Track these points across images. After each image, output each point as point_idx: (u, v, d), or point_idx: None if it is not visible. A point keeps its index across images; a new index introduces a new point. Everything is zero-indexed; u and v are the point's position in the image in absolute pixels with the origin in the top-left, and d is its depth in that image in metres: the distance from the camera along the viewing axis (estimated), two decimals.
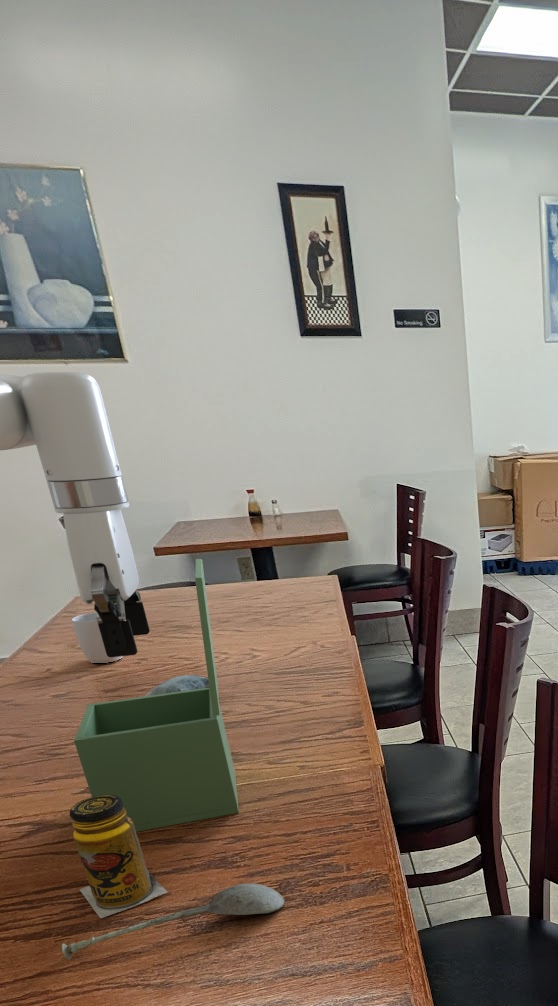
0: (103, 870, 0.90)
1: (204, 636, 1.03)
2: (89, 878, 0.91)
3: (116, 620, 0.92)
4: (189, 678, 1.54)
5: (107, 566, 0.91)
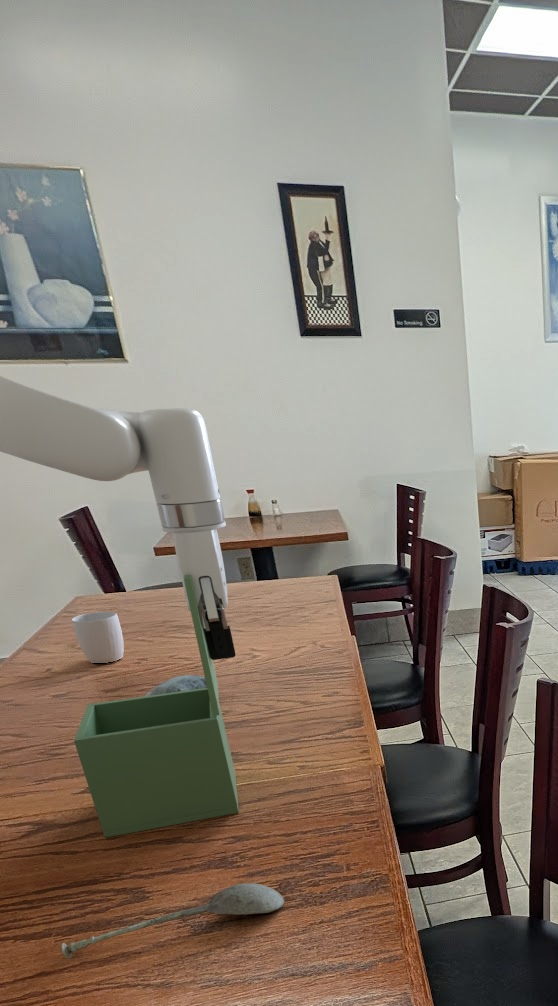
0: None
1: (198, 637, 1.02)
2: None
3: (221, 628, 1.08)
4: (189, 678, 1.54)
5: (212, 578, 1.03)
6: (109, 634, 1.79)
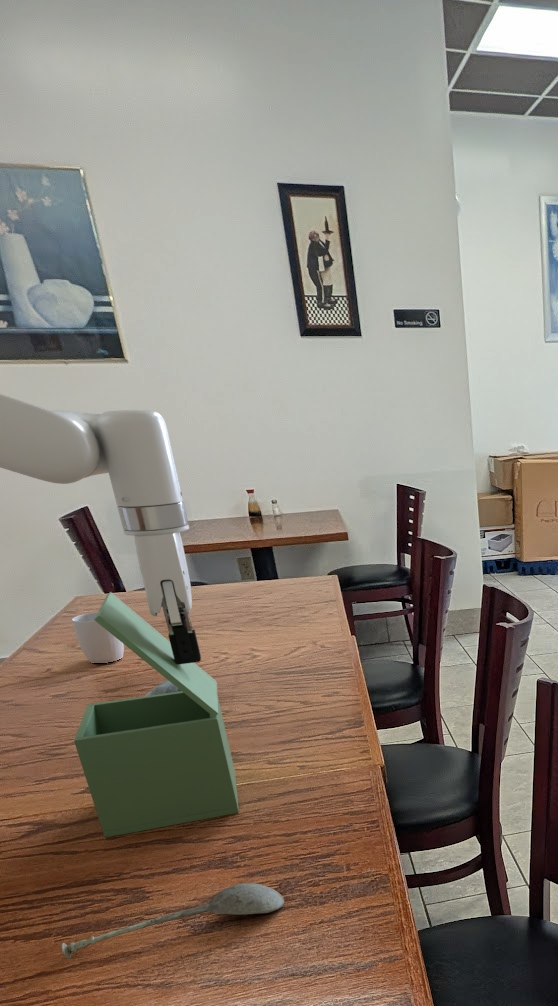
0: None
1: (147, 660, 1.01)
2: None
3: (185, 632, 1.07)
4: None
5: (174, 582, 1.01)
6: (109, 634, 1.79)
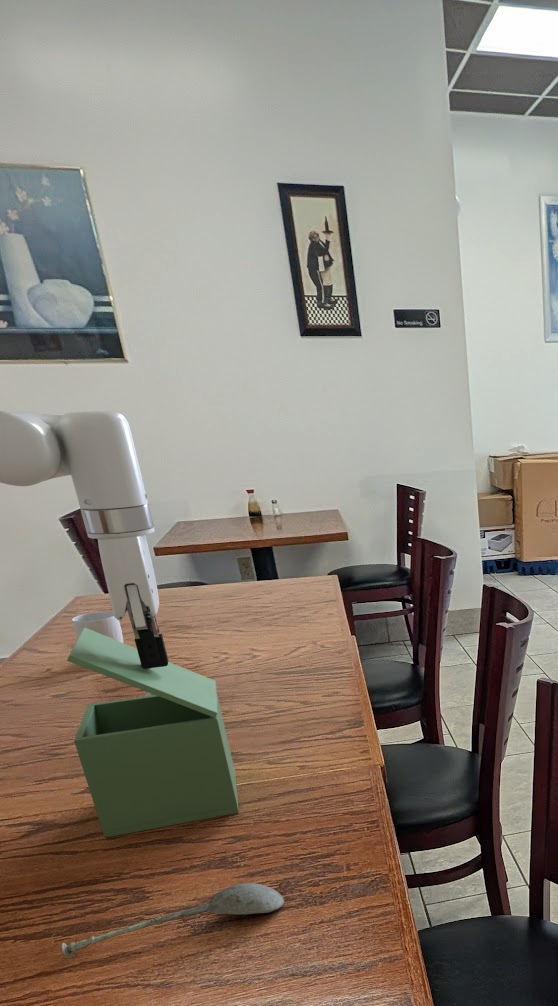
0: None
1: (131, 684, 1.02)
2: None
3: (151, 636, 1.06)
4: None
5: (139, 586, 1.00)
6: (109, 634, 1.79)
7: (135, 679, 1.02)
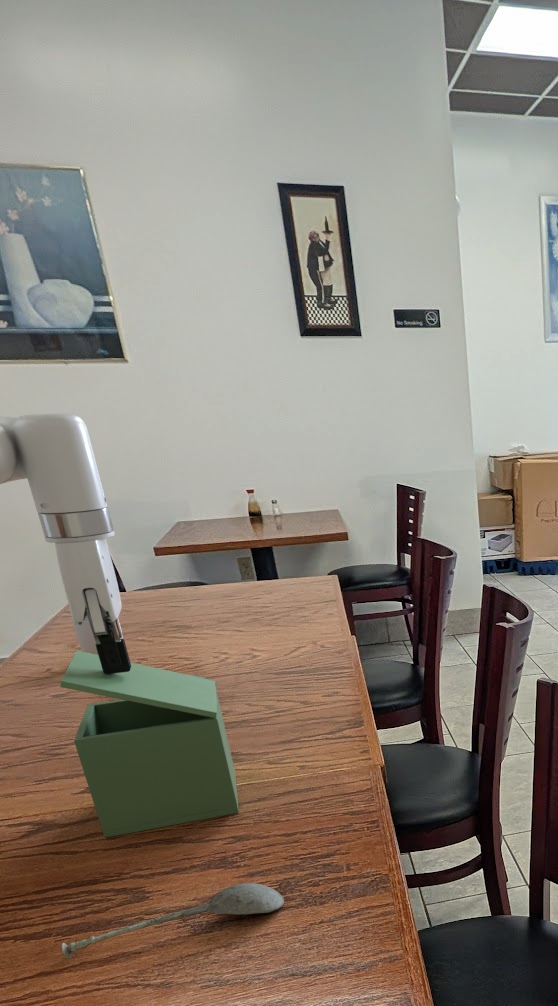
0: None
1: (126, 698, 1.02)
2: None
3: (113, 641, 1.04)
4: None
5: (97, 590, 0.98)
6: None
7: (130, 693, 1.03)
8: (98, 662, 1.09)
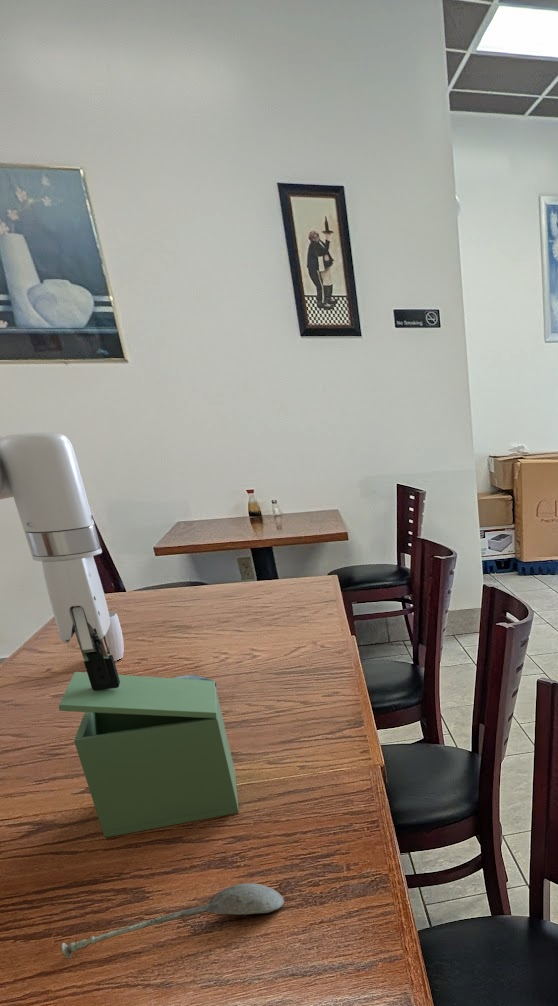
0: None
1: (125, 712, 1.03)
2: None
3: (101, 658, 1.04)
4: (189, 678, 1.54)
5: (85, 608, 0.99)
6: (109, 634, 1.79)
7: (128, 706, 1.03)
8: None
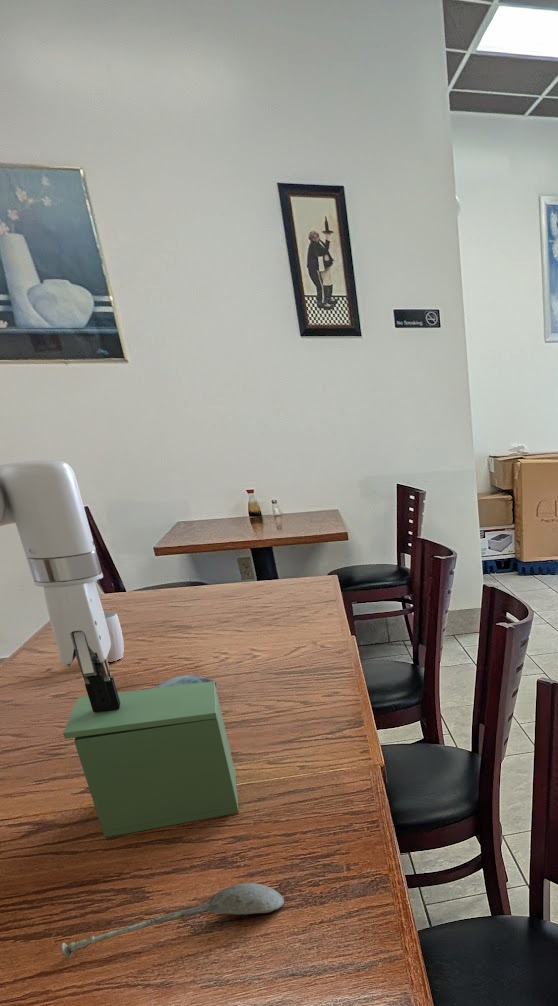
0: None
1: (128, 728, 1.04)
2: None
3: (102, 681, 1.05)
4: (189, 678, 1.54)
5: (86, 633, 1.00)
6: (109, 634, 1.79)
7: (129, 722, 1.04)
8: None
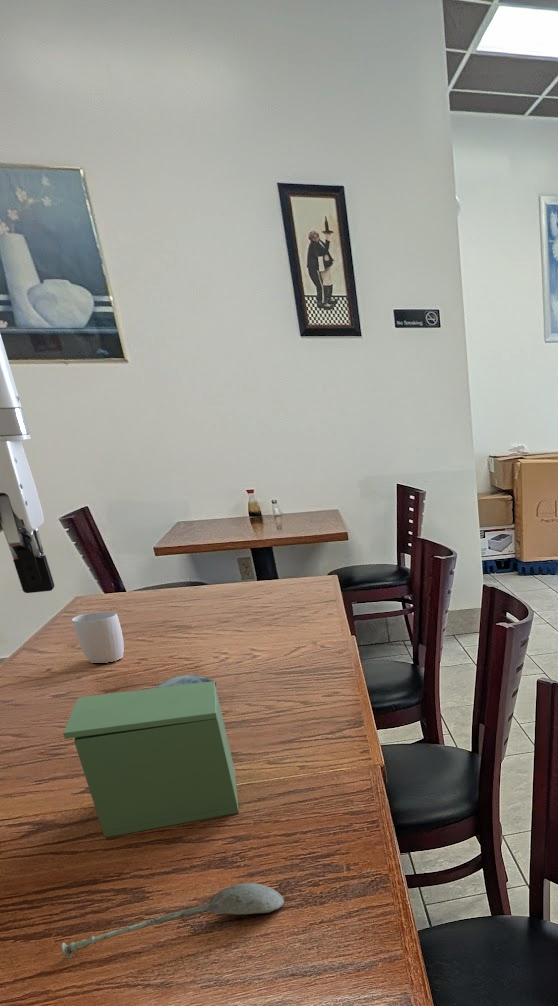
0: None
1: (128, 728, 1.04)
2: None
3: (31, 556, 0.97)
4: (189, 678, 1.54)
5: (10, 496, 0.92)
6: (109, 634, 1.79)
7: (129, 722, 1.04)
8: (99, 702, 1.11)
